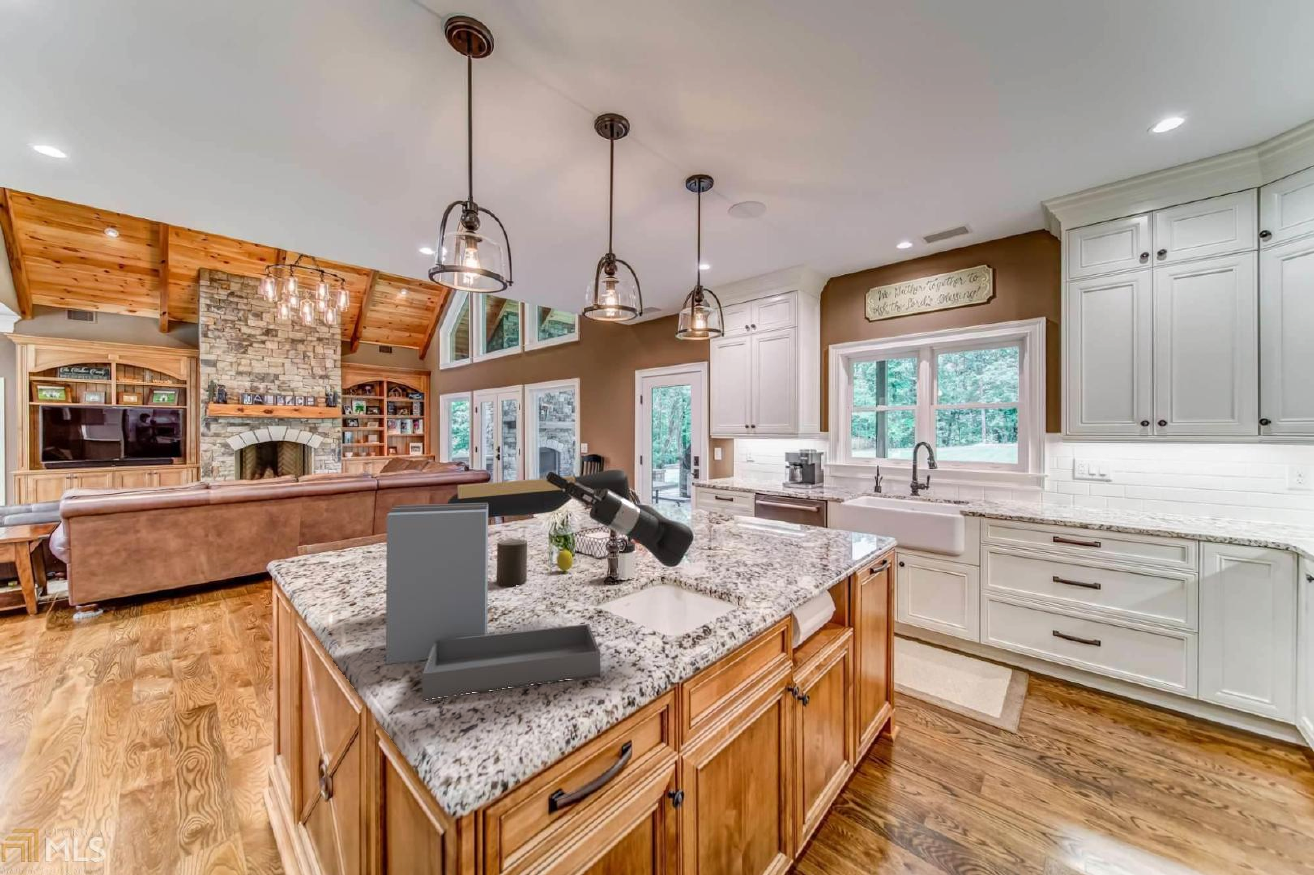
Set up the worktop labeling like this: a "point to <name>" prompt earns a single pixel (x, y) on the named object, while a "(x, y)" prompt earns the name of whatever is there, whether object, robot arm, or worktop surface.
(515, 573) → the pillar candle
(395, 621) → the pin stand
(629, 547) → the jar
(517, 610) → the worktop surface
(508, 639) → the tray
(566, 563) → the lemon
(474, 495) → the light wood thin rod
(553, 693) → the worktop surface
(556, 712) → the worktop surface
